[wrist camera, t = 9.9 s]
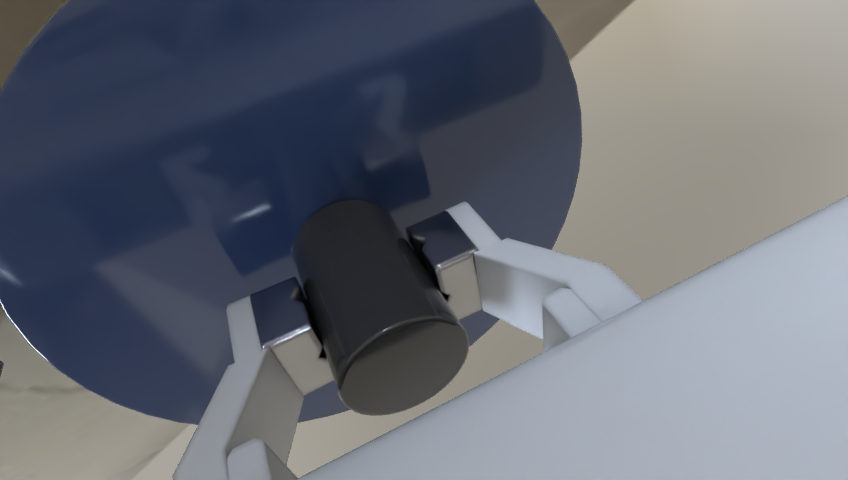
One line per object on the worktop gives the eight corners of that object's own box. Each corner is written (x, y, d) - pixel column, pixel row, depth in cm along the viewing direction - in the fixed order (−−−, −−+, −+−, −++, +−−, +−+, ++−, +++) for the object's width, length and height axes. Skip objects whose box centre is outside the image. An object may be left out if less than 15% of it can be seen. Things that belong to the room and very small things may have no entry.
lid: (-263, 48, 7) (-735, 280, 3) (554, -188, 9) (819, -209, 6) (203, 453, 16) (219, 635, 12) (556, 281, 19) (658, 390, 15)
